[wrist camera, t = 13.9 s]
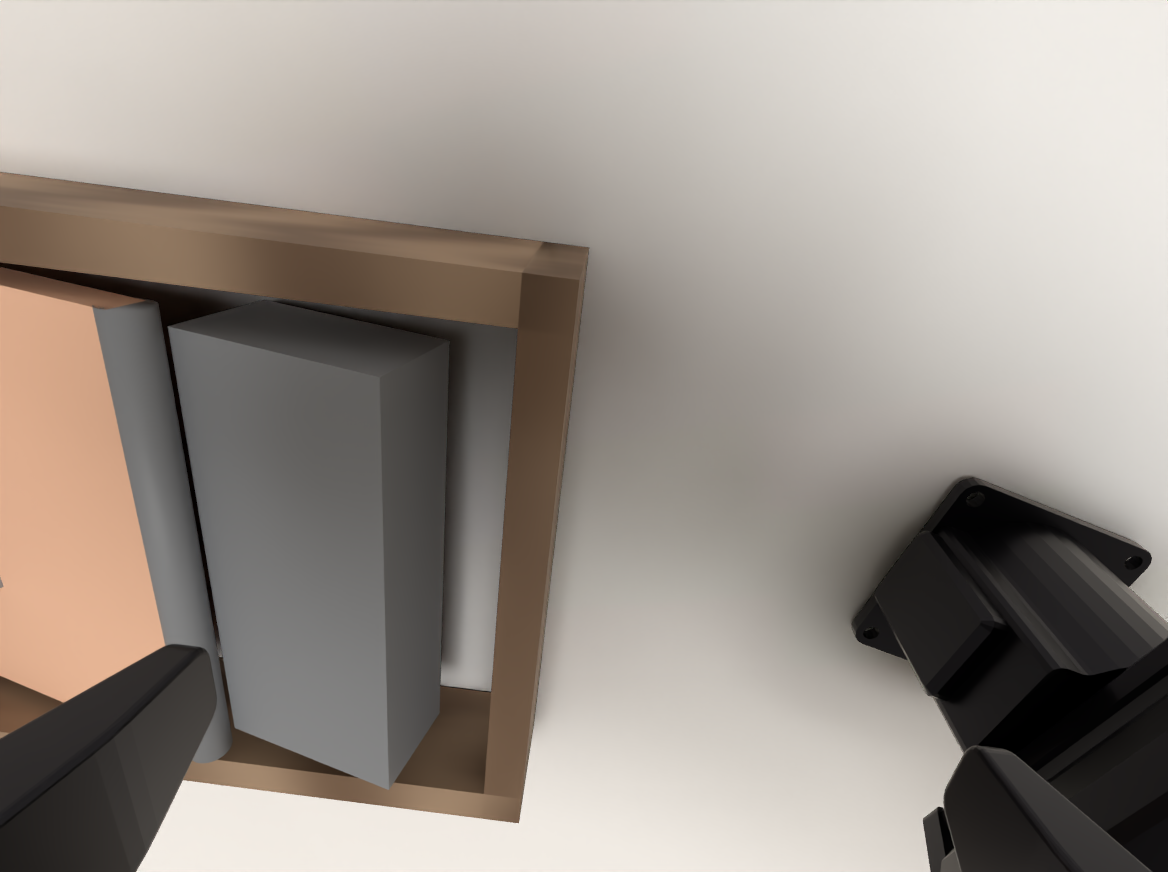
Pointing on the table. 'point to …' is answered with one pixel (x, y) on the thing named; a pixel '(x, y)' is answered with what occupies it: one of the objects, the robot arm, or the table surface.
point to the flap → (227, 512)
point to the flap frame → (383, 283)
